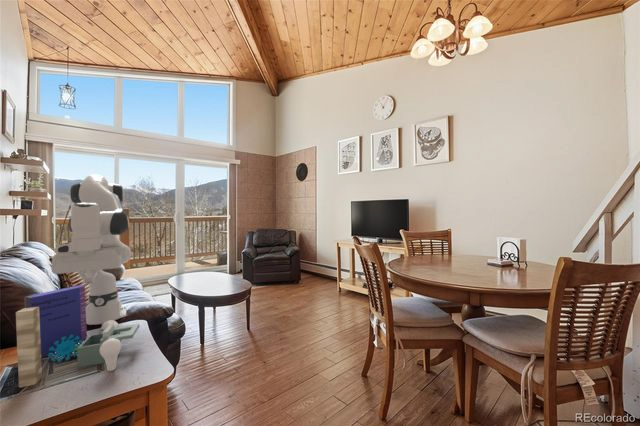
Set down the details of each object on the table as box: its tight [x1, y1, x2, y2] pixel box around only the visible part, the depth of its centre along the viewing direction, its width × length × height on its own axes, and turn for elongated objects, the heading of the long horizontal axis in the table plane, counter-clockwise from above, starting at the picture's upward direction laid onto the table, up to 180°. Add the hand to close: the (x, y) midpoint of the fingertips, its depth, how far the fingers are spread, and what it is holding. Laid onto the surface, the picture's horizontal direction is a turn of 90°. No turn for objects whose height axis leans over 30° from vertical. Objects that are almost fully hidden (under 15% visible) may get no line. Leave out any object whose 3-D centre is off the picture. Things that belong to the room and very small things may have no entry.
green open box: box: [76, 332, 122, 369], centre depth 107 cm, size 12×10×7 cm
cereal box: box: [23, 284, 88, 358], centre depth 115 cm, size 17×5×24 cm, turn 154°
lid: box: [100, 323, 140, 344], centre depth 109 cm, size 12×10×3 cm
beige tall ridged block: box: [15, 307, 43, 388], centre depth 91 cm, size 4×4×24 cm
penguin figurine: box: [99, 320, 119, 333], centre depth 119 cm, size 6×8×12 cm
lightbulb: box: [100, 338, 122, 372], centre depth 96 cm, size 6×6×11 cm
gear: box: [47, 335, 83, 364], centre depth 108 cm, size 11×6×10 cm
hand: (89, 282), depth 104 cm, fingers closed
